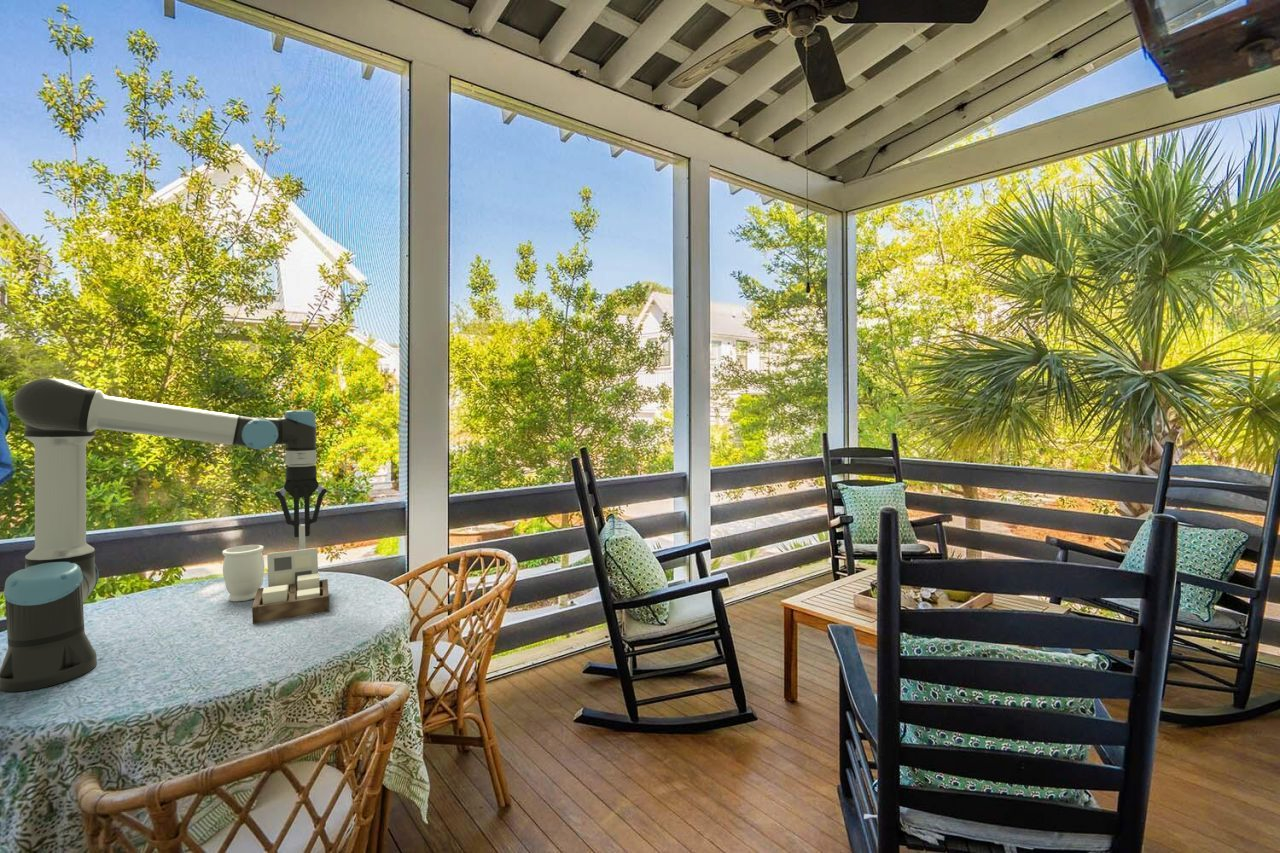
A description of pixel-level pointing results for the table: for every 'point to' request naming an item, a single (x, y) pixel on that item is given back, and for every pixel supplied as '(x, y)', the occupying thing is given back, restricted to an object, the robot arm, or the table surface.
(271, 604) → the board
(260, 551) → the jar
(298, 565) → the card
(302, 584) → the button far right
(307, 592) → the button near right
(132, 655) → the table surface
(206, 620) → the table surface
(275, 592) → the button near left
